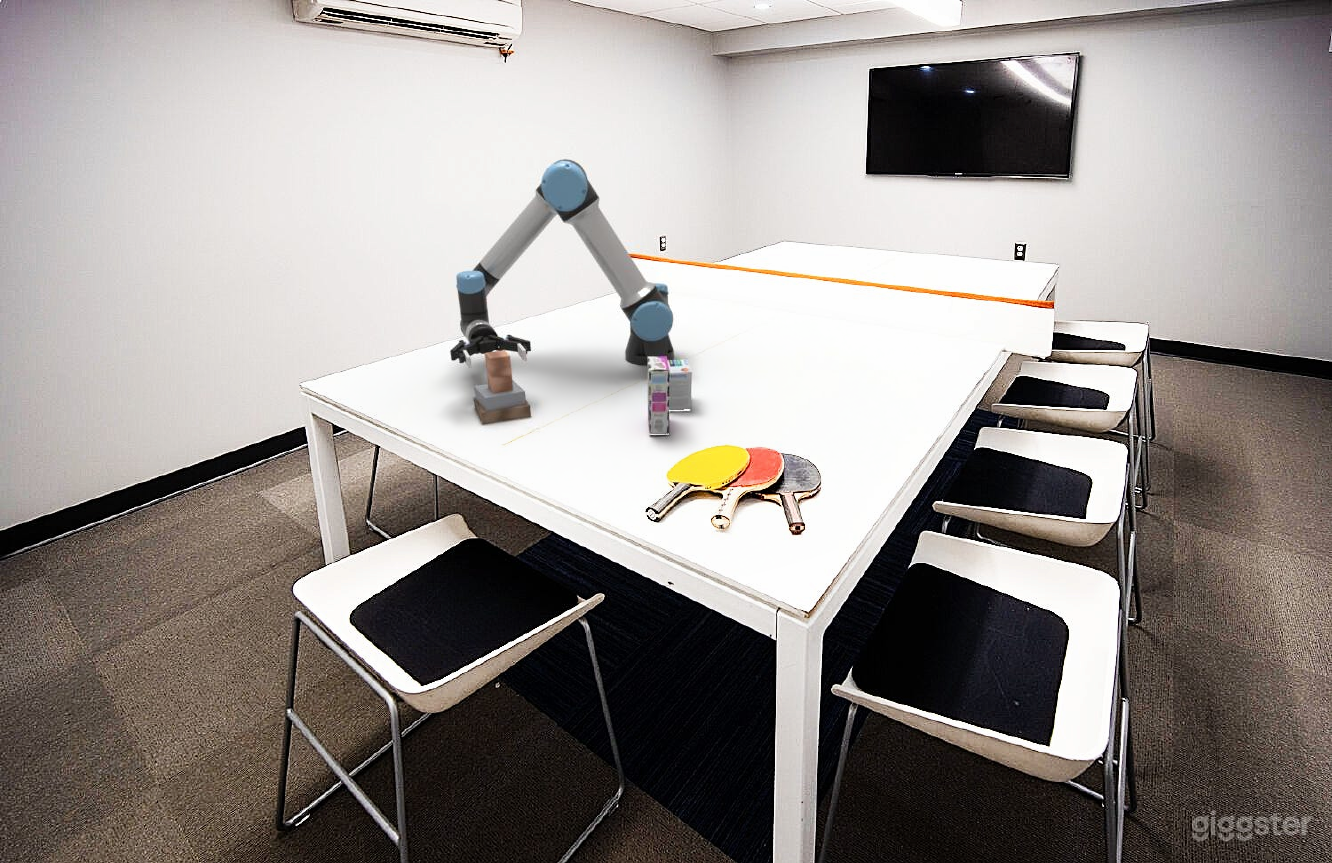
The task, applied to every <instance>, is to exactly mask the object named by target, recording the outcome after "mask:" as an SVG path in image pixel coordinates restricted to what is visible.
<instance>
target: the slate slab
mask: <svg viewBox="0 0 1332 863" xmlns="http://www.w3.org/2000/svg"><path fill="white" fill-rule="evenodd" d="M512 382H513V390H511V391H505V392H499V393H493V392H492V391H491V390H490V389H489V387H488V383H484V384H481V385H480V384H479V385H478V384H477V385H474V394H475V395H474V397H476V400H477V401H478V402H479V403H480V404H481V405H482V407H483V408H484V409H485V410H486V411H492V410H497V409H503V408H508V407H513V406H519V405H524V404H526V401H527V399H526V391H525V390H524V389H523V388H522V386H520V385H519V384H518V383H516V381H515V380H513V379H512Z"/></svg>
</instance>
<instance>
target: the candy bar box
mask: <svg viewBox="0 0 1332 863" xmlns="http://www.w3.org/2000/svg"><path fill="white" fill-rule="evenodd" d="M669 373H670V370H669V366H668V360H667V356H653V357H648V365H647V422H648V423H647V424H648V433H650V434H668V433H669V434H670V412H669V387H670V374H669Z"/></svg>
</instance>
